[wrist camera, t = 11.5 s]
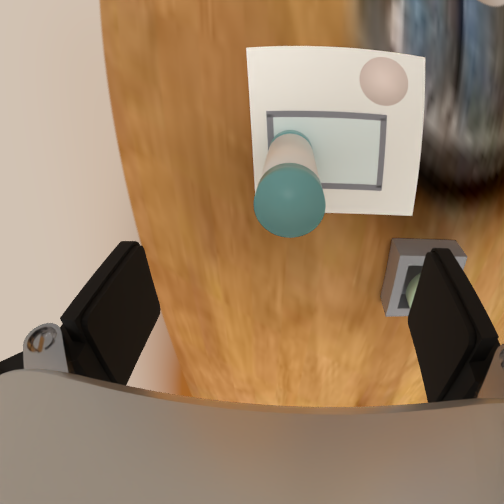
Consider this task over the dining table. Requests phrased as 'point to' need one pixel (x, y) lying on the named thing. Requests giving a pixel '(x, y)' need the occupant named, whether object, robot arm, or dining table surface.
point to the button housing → (409, 269)
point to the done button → (412, 289)
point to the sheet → (344, 120)
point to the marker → (290, 187)
